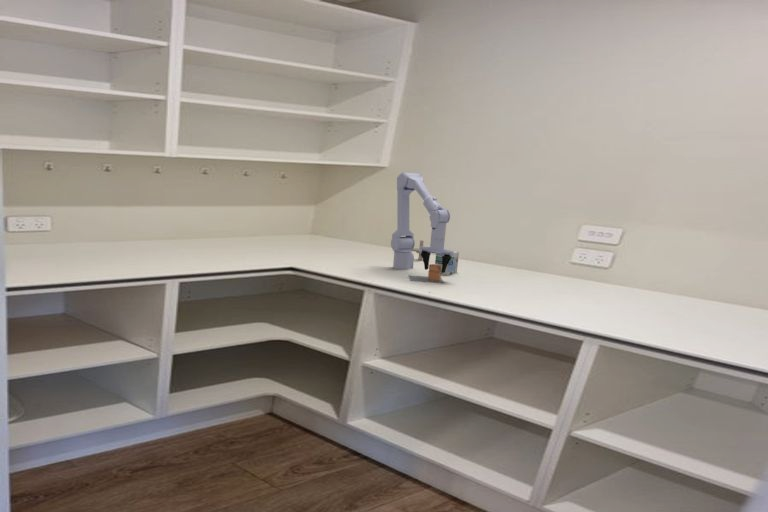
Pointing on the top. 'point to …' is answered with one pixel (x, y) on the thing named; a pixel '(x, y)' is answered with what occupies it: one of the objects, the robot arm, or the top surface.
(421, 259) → the pipe connector
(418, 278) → the faceplate
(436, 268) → the knob
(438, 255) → the light bulb box
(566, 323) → the top surface
